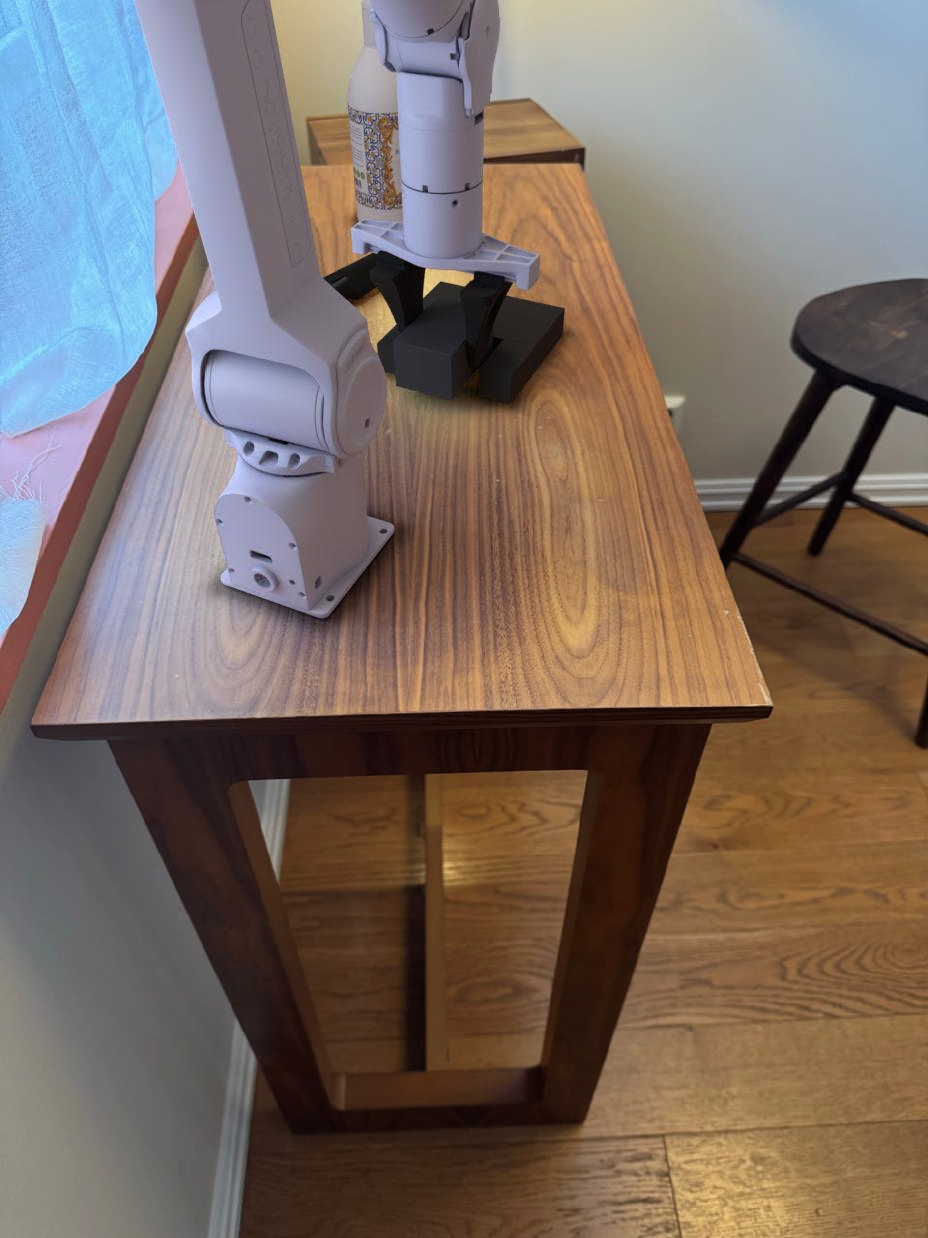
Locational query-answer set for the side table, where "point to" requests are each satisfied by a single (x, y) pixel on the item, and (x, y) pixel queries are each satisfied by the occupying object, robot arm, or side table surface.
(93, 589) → the side table surface
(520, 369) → the base pad
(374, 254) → the electric trimmer
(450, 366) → the rectangular block
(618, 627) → the side table surface
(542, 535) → the side table surface
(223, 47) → the robot arm
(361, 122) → the bath foam
